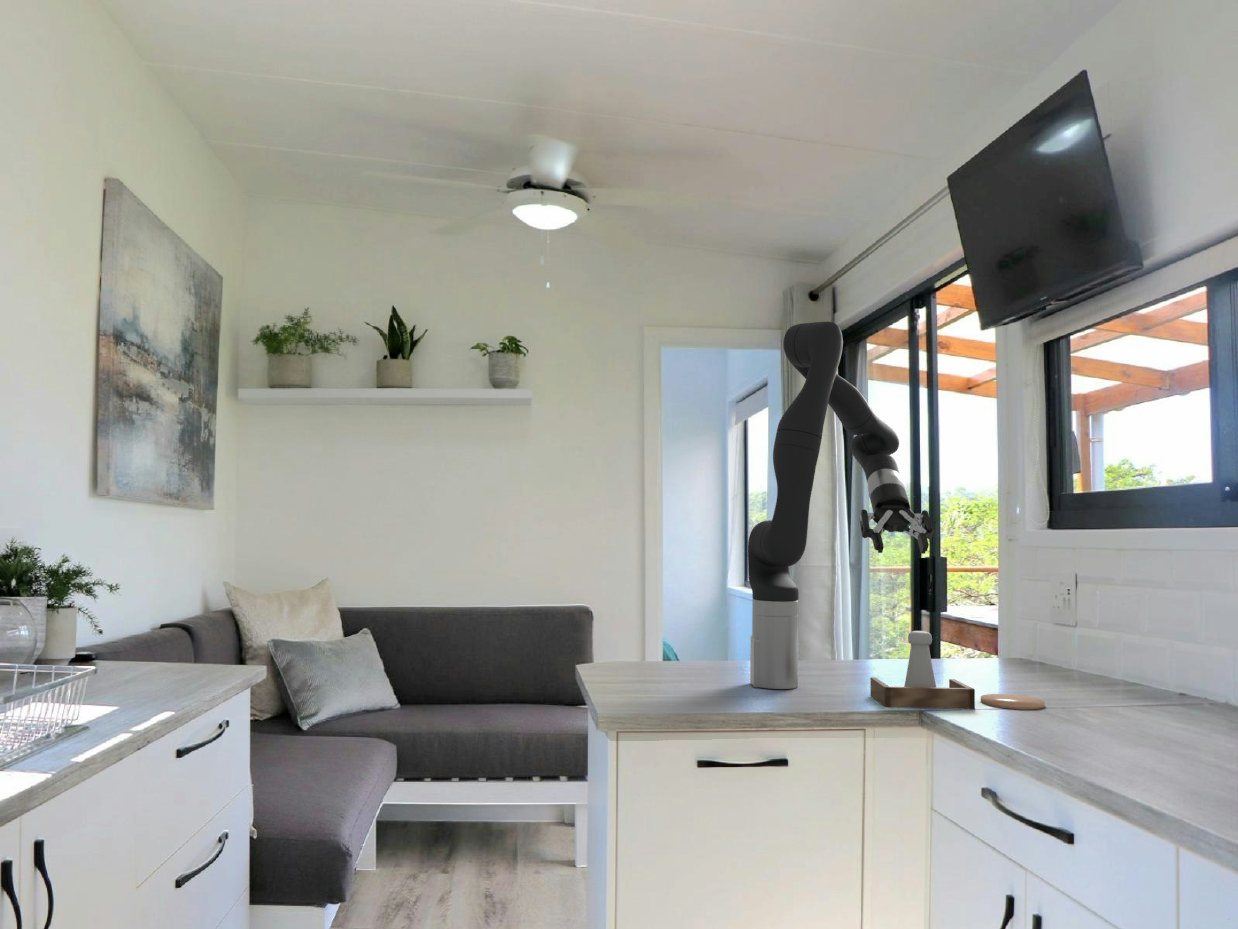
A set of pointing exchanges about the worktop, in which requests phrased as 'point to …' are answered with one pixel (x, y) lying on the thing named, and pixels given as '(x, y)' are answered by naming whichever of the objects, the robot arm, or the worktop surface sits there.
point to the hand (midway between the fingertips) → (902, 550)
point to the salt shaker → (920, 661)
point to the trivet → (1012, 701)
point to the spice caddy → (924, 695)
